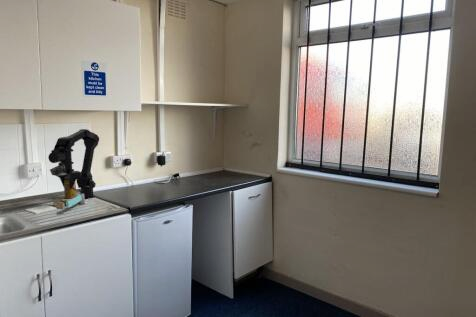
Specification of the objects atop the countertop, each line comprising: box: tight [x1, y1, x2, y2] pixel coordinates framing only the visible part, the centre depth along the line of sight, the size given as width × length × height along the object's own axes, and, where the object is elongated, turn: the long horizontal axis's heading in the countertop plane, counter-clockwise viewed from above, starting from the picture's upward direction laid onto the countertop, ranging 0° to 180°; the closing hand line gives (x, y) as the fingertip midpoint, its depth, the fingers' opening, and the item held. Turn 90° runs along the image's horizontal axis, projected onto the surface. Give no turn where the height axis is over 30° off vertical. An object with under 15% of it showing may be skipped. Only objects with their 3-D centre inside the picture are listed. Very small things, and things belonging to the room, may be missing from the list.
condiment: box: [59, 177, 78, 200], centre depth 203 cm, size 7×8×12 cm
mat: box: [24, 204, 58, 215], centre depth 194 cm, size 11×11×1 cm
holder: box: [52, 193, 86, 209], centre depth 203 cm, size 12×12×6 cm
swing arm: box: [65, 194, 82, 209], centre depth 195 cm, size 16×1×3 cm, turn 179°
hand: (67, 188), depth 203 cm, fingers closed on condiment, 6 cm apart
